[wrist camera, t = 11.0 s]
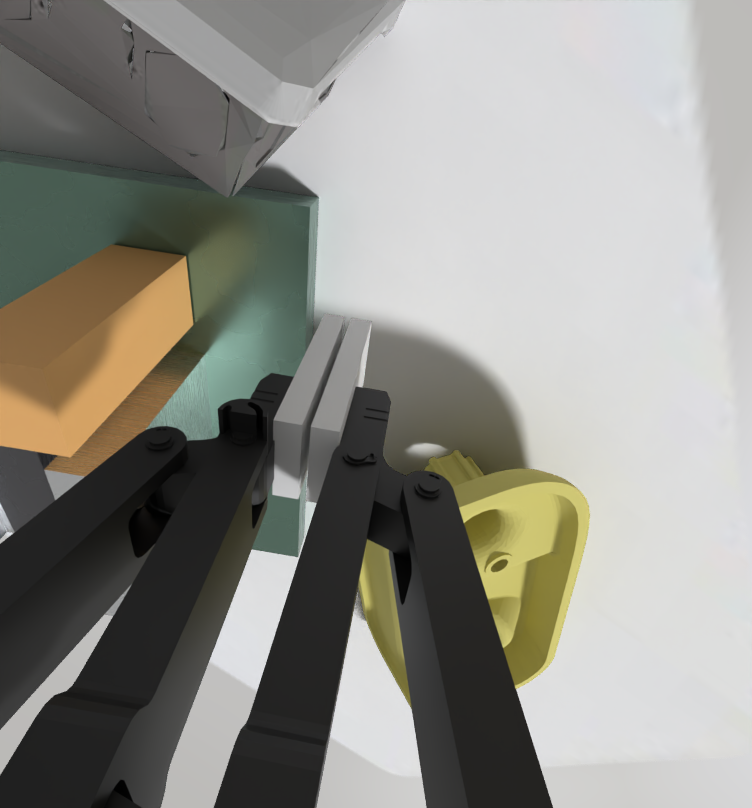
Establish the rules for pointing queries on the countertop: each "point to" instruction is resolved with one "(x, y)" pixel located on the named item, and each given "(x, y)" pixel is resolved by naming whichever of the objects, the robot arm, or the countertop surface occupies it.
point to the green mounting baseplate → (209, 291)
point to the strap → (24, 484)
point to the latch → (87, 344)
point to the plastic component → (499, 562)
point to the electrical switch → (199, 68)
